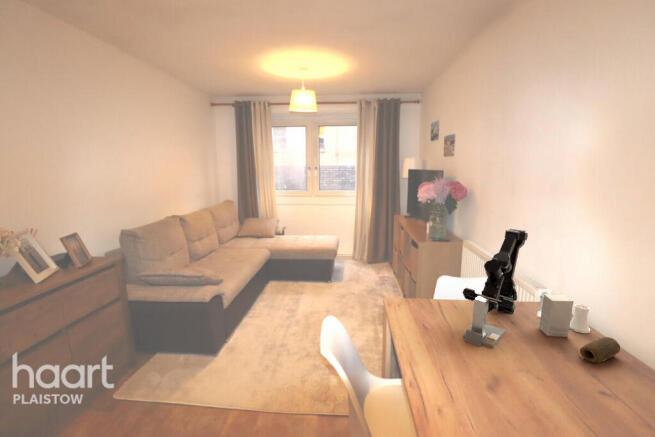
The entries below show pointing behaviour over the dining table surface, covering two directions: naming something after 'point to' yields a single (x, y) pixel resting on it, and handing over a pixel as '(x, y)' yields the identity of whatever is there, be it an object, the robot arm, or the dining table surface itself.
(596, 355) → the brown hollow cylinder
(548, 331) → the skincare box
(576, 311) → the vase
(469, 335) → the gauge board
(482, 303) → the bar
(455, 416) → the dining table surface
